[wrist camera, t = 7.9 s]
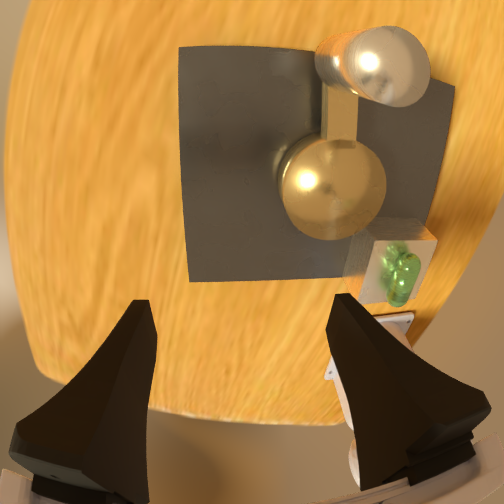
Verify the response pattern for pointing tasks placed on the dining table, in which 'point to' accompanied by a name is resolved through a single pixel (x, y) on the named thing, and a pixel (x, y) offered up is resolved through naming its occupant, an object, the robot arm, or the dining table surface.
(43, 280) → the dining table surface
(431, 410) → the robot arm
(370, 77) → the gold rounded piece
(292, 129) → the instrument base
